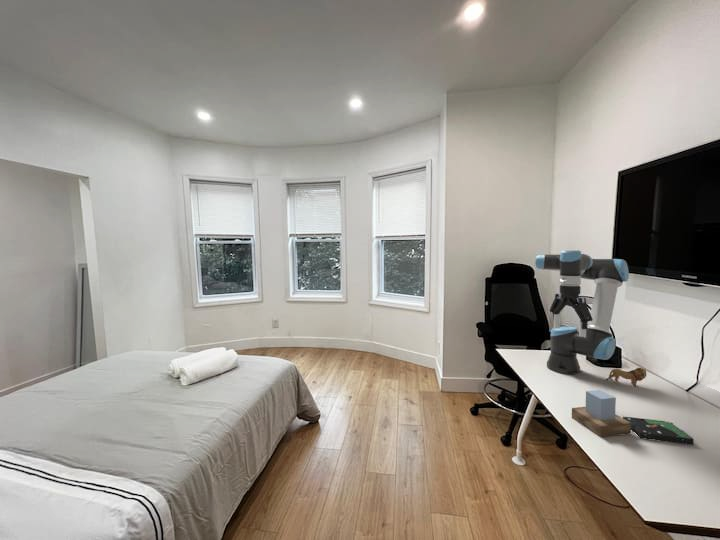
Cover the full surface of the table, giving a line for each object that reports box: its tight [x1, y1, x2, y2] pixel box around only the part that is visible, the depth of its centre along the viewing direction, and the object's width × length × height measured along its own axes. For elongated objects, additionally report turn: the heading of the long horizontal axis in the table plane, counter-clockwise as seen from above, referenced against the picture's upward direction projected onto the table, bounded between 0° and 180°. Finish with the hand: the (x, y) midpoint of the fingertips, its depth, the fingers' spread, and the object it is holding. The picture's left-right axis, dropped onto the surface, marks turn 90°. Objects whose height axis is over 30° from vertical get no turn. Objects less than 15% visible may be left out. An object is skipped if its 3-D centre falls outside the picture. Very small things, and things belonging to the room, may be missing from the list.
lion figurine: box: [605, 367, 647, 388], centre depth 139 cm, size 15×5×9 cm, turn 60°
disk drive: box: [622, 416, 695, 446], centre depth 103 cm, size 10×3×15 cm
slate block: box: [585, 389, 617, 421], centre depth 107 cm, size 6×6×8 cm
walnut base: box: [571, 406, 632, 438], centre depth 107 cm, size 12×12×4 cm
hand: (569, 332), depth 129 cm, fingers open, 13 cm apart
